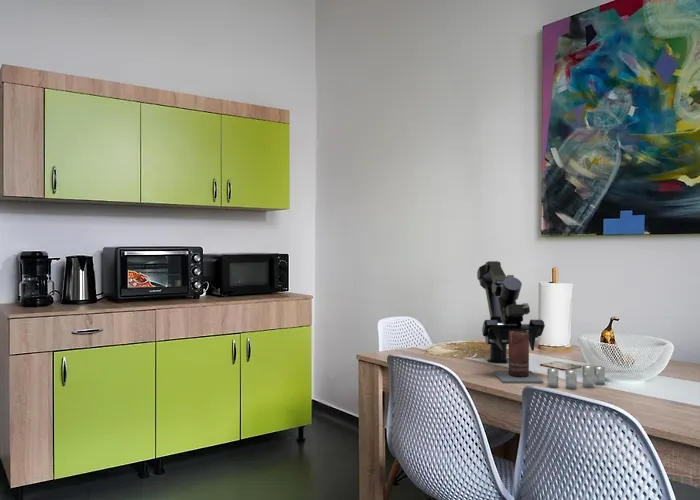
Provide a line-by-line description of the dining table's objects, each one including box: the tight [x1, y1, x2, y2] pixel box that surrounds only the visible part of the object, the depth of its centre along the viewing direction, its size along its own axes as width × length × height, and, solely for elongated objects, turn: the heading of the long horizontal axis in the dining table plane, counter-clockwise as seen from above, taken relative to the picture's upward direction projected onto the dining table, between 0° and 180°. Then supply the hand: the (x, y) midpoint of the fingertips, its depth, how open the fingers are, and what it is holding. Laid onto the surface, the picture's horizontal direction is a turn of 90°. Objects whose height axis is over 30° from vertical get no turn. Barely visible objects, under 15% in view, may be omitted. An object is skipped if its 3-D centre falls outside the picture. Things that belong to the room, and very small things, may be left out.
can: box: [508, 330, 530, 377], centre depth 180 cm, size 6×6×14 cm
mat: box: [492, 370, 544, 384], centre depth 179 cm, size 14×12×1 cm
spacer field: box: [547, 364, 606, 390], centre depth 170 cm, size 8×21×6 cm, turn 114°
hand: (518, 350), depth 178 cm, fingers open, 9 cm apart
